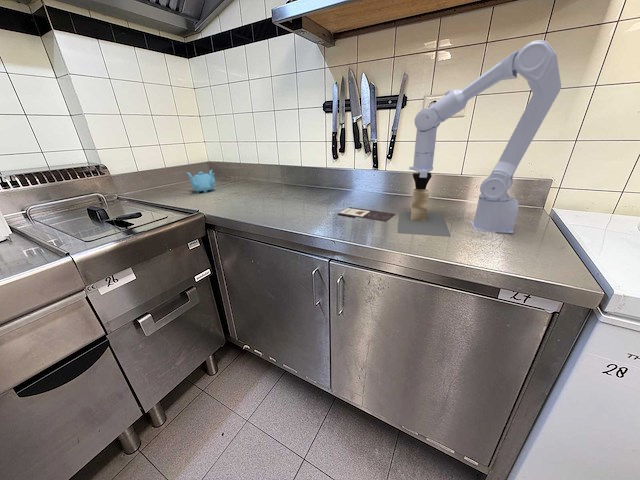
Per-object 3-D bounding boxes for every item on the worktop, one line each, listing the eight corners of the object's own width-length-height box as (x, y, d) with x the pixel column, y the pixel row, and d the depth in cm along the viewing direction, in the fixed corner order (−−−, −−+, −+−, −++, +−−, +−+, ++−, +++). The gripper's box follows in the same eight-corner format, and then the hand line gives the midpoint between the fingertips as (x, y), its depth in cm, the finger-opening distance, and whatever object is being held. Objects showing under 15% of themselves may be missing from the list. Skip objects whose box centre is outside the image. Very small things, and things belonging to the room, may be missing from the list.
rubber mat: (442, 215, 90) (442, 213, 89) (450, 238, 72) (451, 236, 72) (399, 213, 94) (399, 211, 93) (397, 234, 76) (397, 233, 76)
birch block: (424, 216, 88) (428, 189, 84) (425, 220, 84) (429, 192, 80) (410, 215, 89) (413, 188, 85) (410, 220, 85) (413, 192, 81)
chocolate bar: (386, 221, 85) (337, 213, 94) (385, 224, 85) (337, 216, 95) (396, 213, 91) (349, 207, 101) (395, 216, 92) (349, 209, 101)
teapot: (192, 195, 132) (187, 175, 128) (190, 190, 143) (186, 171, 139) (219, 191, 138) (215, 171, 133) (215, 187, 148) (212, 168, 144)
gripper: (410, 150, 89) (406, 190, 95) (410, 155, 77) (406, 201, 82) (433, 149, 87) (428, 190, 93) (437, 155, 75) (431, 202, 80)
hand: (419, 195), depth 87 cm, fingers closed
